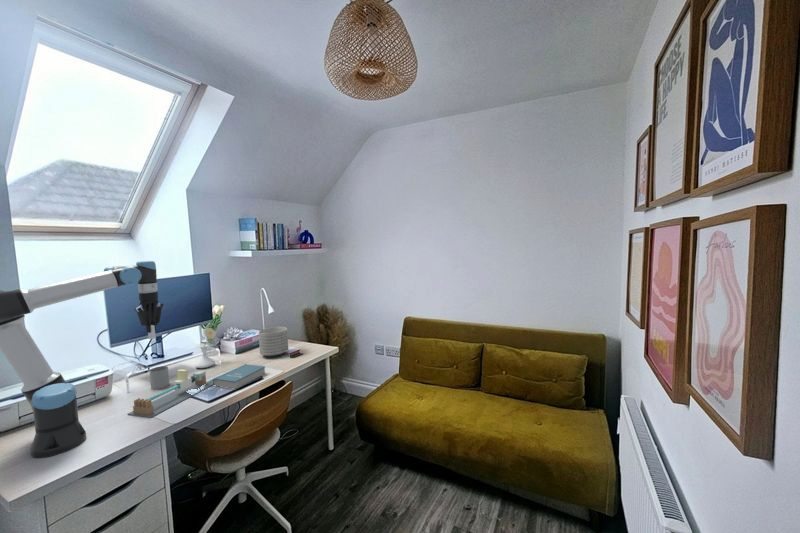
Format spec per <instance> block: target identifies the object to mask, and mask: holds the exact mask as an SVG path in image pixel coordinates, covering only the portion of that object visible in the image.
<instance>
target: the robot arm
mask: <svg viewBox="0 0 800 533" xmlns="http://www.w3.org/2000/svg"><path fill="white" fill-rule="evenodd" d="M157 275H158V274H157V265H156V262H155V261H153V260H143V261H140V260H139V261H137V262H136V263H135V265H126V266H125V265H124V266H123V265H121V266H108V267H105V268H104V269H103V272H99V273H95V274H90V275H87V276H83V277H82V276H81V277H77V278H74V279H70V280H69V279H68V280H64V281H60V282H56V283H55V282H54V283H52V284H51V283H50V284H47V285H43V286H39V287H34V288H29V289H24V288H18V289H13V290H7V291H5V290H1V289H0V351H1V352H2V354H3V355H4V357H5V358H6V359H7V362H8V363H9V364H10V366H11V367H12V369H13V371H14V372H15V373H16V374H17V376H18V378H19V379H20V381H21V382H22V384H23V386H22V388H21V389H20V391H21V393H22V394H23V395H24V397H25V399H26V400H27V402H28V403H29V405H30V407H31V410H32V412H33V419H34V420H33V422H34V428H35V435H34V437H33V440H32V442H31V443H32V444H31V447H30V450H29V451H30V457H32V458H35V459H39V458H40V459H41V458H48V457H52V456H56V455H58V454H62V453H64V452H65V453H66V452H67V451H69V450H72V449H74V448H75V447H77V446H79V445H81V444H82V443H83V442H85V441H86V439H87V432H86V430H85V428H84V427H83V425H82V423H81V422H80V420H79V410H78V400H77V393H78V391H77V388H76V386H75V385H74V384H73V383H71V382H70V383H69V382H66V380H65V378H64V377H63V375H62V374H61V372H57V371H53V369H52V368H51V365H50V364H49V362H48V360H46V358H45V357H44V355H43V353H42V351H41V350H40V348H39V347H38V344H36V342H35V340H34V339H33V337H32V335H31V334H30V332H29V331H28V329H27V328H26V325H24V323H23V320H24V319H25V317H26V316H25V315H28V314H31V313H33V312H34V310H37V309H40V308H43V307H47V306H51V305H55V304H58V303H62V302H65V301H70V300H73V299H77V298H81V297H85V296H88V295H92V294H96V293H100V292H104V291H107V290H110V289H114V288H119V287H122V286H125V285H133V284H137V288H138V289H137V290H138V300H139V301H140V302H139V305H138V306H137V307H135V308H134V311H135V312H136V313H137V316H138V319H139V322H140V325H141V326H143V327H145V330H146V333H147V338H148V339H149V340H153V339H156V331H157V325H158V324H159V323H160V321H161V316H162V309H163V307H164V303H160V302H159V300H158V299H159V292H158V290H159V289H158V280H157V279H158V278H157V277H158V276H157Z"/></svg>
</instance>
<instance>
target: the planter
mask: <svg viewBox="0 0 800 533" xmlns="http://www.w3.org/2000/svg"><path fill="white" fill-rule="evenodd" d="M288 332H289V331H288V328H287V327H286V326H272V327H266V328H263V329H260V330H258V344H259V354H260V355H262V356H265V357H269V358H274V357H279V356H281V355H282V354H284V353H286V352H288V351H289V339H288V338H289V336H288V334H289V333H288Z"/></svg>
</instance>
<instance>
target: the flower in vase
mask: <svg viewBox="0 0 800 533" xmlns="http://www.w3.org/2000/svg"><path fill="white" fill-rule="evenodd" d="M204 335H205V337H206V340H205V341H200V344H201V345H200V346H199V348H200V349H201V352H202V357H201V358H200V359H199V360H198V361H196V363H195V368H197V369H205V368H209V367H213V366H214V365H215V363H216V360H214V359H212V358H211V357H209V356H208V354H207V353H208V352H207V351H208V347H209V344H207V342H208V343H212V342H213V339H214V338H215V337H216V336H217V335H216V331H215V330H214V329H213V328H212V327H209V328H208V327H207V328H206V329H205V330H204Z"/></svg>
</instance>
